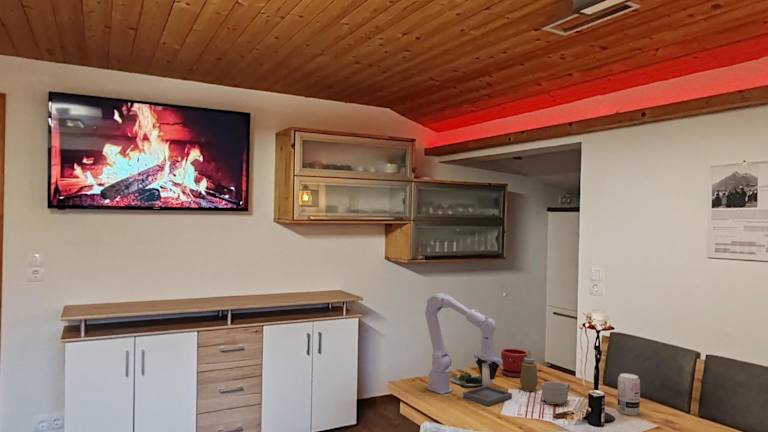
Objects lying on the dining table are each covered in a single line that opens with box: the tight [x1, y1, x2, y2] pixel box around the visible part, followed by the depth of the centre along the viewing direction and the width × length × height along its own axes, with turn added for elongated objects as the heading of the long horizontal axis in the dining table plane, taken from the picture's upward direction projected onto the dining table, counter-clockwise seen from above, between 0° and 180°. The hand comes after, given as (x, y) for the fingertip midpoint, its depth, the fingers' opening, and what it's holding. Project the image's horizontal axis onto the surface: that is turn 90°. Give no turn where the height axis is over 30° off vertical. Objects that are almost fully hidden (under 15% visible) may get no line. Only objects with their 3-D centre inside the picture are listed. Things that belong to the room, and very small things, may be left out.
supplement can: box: [617, 373, 641, 417], centre depth 218 cm, size 8×8×15 cm
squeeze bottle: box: [519, 349, 539, 392], centre depth 247 cm, size 8×8×18 cm
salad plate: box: [450, 371, 484, 389], centre depth 258 cm, size 19×18×5 cm
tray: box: [462, 386, 513, 407], centre depth 233 cm, size 14×16×2 cm
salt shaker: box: [482, 361, 494, 387], centre depth 233 cm, size 5×5×9 cm
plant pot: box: [500, 348, 528, 378], centre depth 271 cm, size 13×13×12 cm
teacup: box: [541, 381, 572, 406], centre depth 230 cm, size 14×11×8 cm
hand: (487, 377), depth 234 cm, fingers closed on salt shaker, 5 cm apart
